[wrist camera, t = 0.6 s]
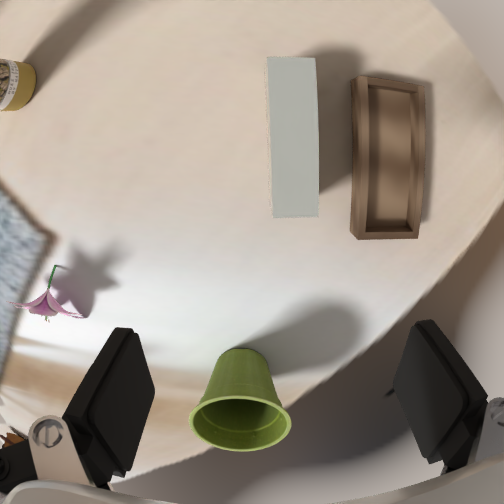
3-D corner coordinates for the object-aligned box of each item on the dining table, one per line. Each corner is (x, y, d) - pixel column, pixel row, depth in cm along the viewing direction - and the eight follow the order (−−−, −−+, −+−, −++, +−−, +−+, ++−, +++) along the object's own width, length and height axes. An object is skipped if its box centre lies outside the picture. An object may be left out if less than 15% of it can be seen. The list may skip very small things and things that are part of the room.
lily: (26, 279, 38) (9, 332, 32) (20, 234, 30) (-6, 297, 24) (91, 300, 43) (80, 356, 37) (99, 261, 35) (82, 328, 29)
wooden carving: (46, 451, 60) (35, 474, 51) (45, 455, 61) (35, 477, 52) (4, 423, 57) (-8, 443, 48) (6, 428, 58) (-6, 448, 49)
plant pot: (266, 399, 44) (268, 457, 33) (193, 380, 42) (180, 438, 32) (298, 346, 40) (309, 409, 29) (214, 322, 38) (202, 384, 28)
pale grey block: (264, 73, 27) (267, 57, 21) (302, 73, 27) (315, 57, 21) (269, 201, 32) (272, 218, 26) (305, 200, 32) (318, 217, 26)
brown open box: (350, 80, 27) (359, 75, 24) (411, 89, 27) (423, 86, 24) (349, 231, 33) (357, 239, 31) (406, 230, 33) (418, 238, 30)
